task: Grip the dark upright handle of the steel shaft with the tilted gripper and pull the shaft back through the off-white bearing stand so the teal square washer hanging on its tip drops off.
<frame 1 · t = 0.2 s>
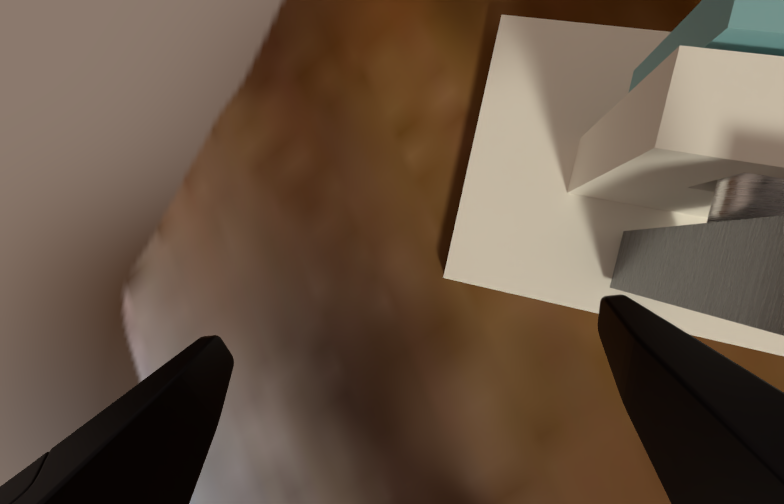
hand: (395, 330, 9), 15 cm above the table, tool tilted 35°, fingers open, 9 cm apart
bearing stand: (630, 264, 21), on the table
spacer: (712, 103, 17), point 4 cm above the table, touching shaft
shaft: (754, 157, 13), point 8 cm above the table, slide at 0.0 cm, touching spacer
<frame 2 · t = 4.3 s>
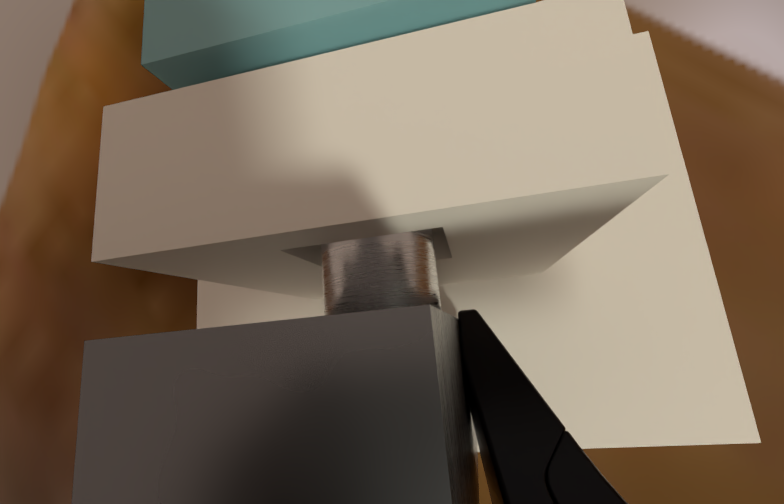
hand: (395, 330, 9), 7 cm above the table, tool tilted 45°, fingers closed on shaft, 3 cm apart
bearing stand: (433, 362, 16), on the table
spacer: (397, 151, 13), point 4 cm above the table, touching shaft
shaft: (381, 209, 9), point 8 cm above the table, slide at 0.0 cm, touching gripper, spacer
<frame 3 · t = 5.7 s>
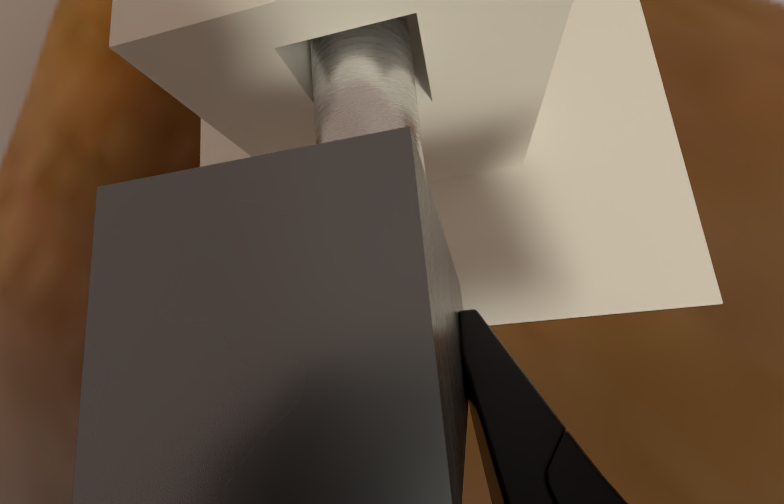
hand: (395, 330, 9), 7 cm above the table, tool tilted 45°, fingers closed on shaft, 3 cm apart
bearing stand: (422, 261, 17), on the table
shaft: (376, 155, 9), point 8 cm above the table, slide at 2.9 cm, touching gripper, spacer
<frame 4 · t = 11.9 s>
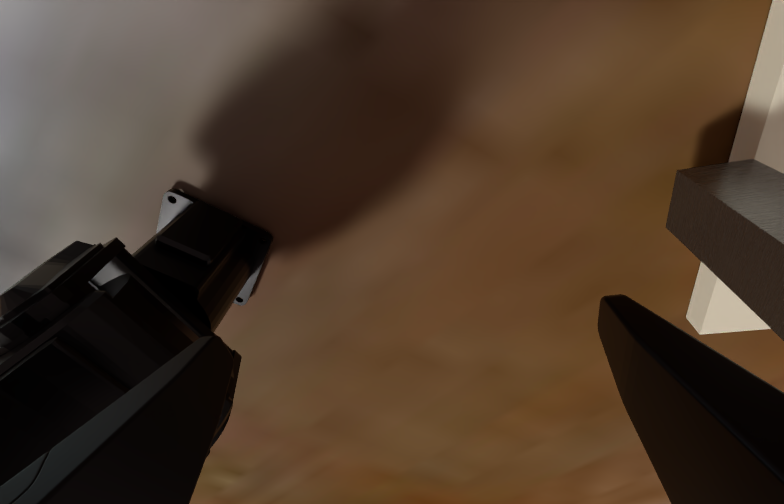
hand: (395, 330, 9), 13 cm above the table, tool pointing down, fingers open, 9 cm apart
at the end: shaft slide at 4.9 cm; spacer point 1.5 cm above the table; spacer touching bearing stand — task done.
